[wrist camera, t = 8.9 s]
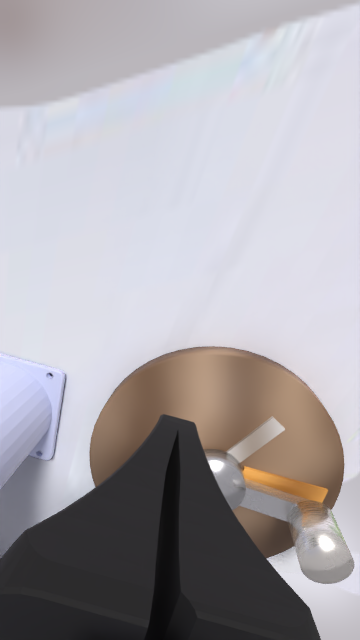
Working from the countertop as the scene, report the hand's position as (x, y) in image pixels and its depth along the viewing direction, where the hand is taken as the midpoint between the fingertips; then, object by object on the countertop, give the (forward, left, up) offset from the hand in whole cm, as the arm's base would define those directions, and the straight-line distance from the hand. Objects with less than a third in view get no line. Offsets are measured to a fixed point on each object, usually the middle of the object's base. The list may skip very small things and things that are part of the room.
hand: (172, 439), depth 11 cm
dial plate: (+4, -8, -9) cm, 13 cm away
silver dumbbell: (+7, -8, -8) cm, 13 cm away
